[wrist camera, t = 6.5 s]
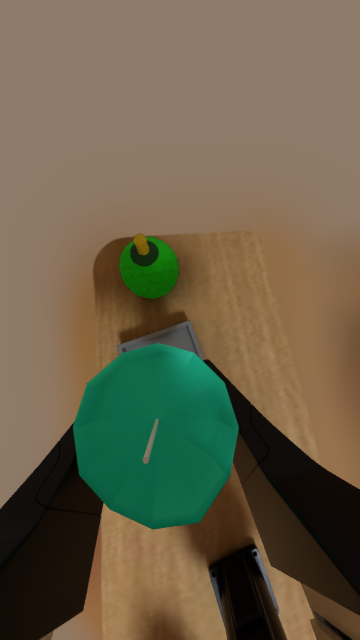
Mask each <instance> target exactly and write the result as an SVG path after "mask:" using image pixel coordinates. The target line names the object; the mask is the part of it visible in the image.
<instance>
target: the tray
mask: <svg viewBox="0 0 360 640" xmlns="http://www.w3.org/2000/svg"><path fill="white" fill-rule="evenodd" d="M156 343H160V344H164V345H168V346H172V347H176V348H179V349H183V350H187V351H190V352H193V353H195V354H196V355H197V356H198V357H199V358H200V359H201V360H202V361H203V360H205V359H204V357H203V354H202V351H201V348H200V346H199V343H198V340H197V338H196V335H195V332H194V330H193V327H192V324H191V322H190V320H189V321H186V322H183V323H180V324H177V325H174V326H172V327H169V328H166V329H163V330H160V331H157V332H154V333H151V334H149V335H146V336H143V337H140V338H137V339H134V340H131V341H128V342H126V343H123V344H120V345H117V350H118V353H119V355H120V354H122V353H124V352H128V351H131V350H135V349H138V348H142V347H145V346H149V345H152V344H156Z"/></svg>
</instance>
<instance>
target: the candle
mask: <svg viewBox="0 0 360 640" xmlns="http://www.w3.org/2000/svg"><path fill="white" fill-rule="evenodd" d="M238 430H239V426H238V423H237V420H236V417H235V414H234V411H233V408H232V404H231V401H230V398H229V395H228V392H227V389H226V386H225V383H224V382H223V381H222V380H221V379H220V378H219V377H218V376H217V375H216V374H215V373H214V372H213V371H212V370H211V369H210V368H209V367H208V366H207V365H206V364H205V363H204V362H203V361H202V360H201V359H200V358H199V357H198V356H197V355H196V354H195V353H193V352H190V351H187V350H183V349H179V348H176V347H172V346H168V345H164V344H160V343H156V344H152V345H149V346H145V347H142V348H138V349H135V350H131V351H128V352H124V353H122V354H120V355H119V356H118V357H117V358H116V359H115V360H114V361H112V362H111V363H110V364H109V365H108V366H107V367H106V368H104V369H103V370H102V371H101V372H100V373H99V374H97V375H96V376H95V377H94V378H93V379H92V380H91V381H89V382H88V383H87V386H86V389H85V392H84V395H83V398H82V401H81V404H80V407H79V410H78V413H77V416H76V419H75V422H74V425H73V432H74V439H75V447H76V454H77V462H78V470H79V475H80V476H81V477H82V479H83V480H84V481H85V482H86V483H87V484H88V485H89V486H90V488H91V489H92V490H93V491H94V492H95V493H96V494H97V495H98V497H99V498H100V499H101V500H102V501H103V502H104V503H105V504H106V506H107V507H108V508H109V509H110V510H112V511H114V512H117V513H119V514H121V515H123V516H125V517H127V518H129V519H132V520H134V521H136V522H138V523H140V524H142V525H144V526H147V527H149V528H151V529H159V528H166V527H173V526H181V525H188V524H195V523H200V522H201V520H202V518H203V517H204V515H205V514H206V512H207V511H208V509H209V508H210V506H211V505H212V503H213V502H214V500H215V498H216V497H217V495H218V494H219V492H220V491H221V489H222V488H223V486H224V485H225V483H226V482H227V480H228V479H229V477H230V474H231V468H232V463H233V457H234V452H235V446H236V441H237V435H238Z"/></svg>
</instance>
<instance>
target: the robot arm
mask: <svg viewBox="0 0 360 640" xmlns="http://www.w3.org/2000/svg"><path fill="white" fill-rule="evenodd" d="M203 362H204V363H205V364H206V365H207V366H208V367H209V368H210V369H211V370H212V371H213V372H214V373H215V374H216V375H217V376H218V377H219V378H220V379H221V380H222V381H223V382H224V383H225V386H226V389H227V392H228V395H229V398H230V401H231V404H232V408H233V411H234V414H235V417H236V420H237V423H238V426H239V430H238V435H237V441H236V446H235V452H234V457H233V463H234V466H235V469H236V471H237V474H238V477H239V480H240V482H241V485H242V488H243V491H244V493H245V496H246V499H247V502H248V504H249V507H250V510H251V513H252V515H253V518H254V521H255V524H256V526H257V529H258V532H259V534H260V537H261V540H262V543H263V545H264V548H265V551H266V554H267V556H268V559H269V562H270V564H271V566H272V567H274V568H276V569H278V570H279V571H281V572H283V573H285V574H286V575H288V576H290V577H292V578H294V579H295V580H297V581H299V582H300V583H301V585H302V588H303V590H304V593H305V595H306V598H307V600H308V603H309V605H310V608H311V610H312V613H313V615H314V618H315V619H311V620H310V622H311V625H312V628H313V631H314V633H315V636H316V639H317V640H360V489H358V488H356V487H355V486H353V485H351V484H349V483H348V482H346V481H345V480H343V479H341V478H339V477H338V476H336V475H334V474H333V473H331V472H329V471H328V470H326V469H325V468H323V467H322V466H320V465H319V464H318V463H316V462H315V461H314V460H312V459H311V458H310V457H309V456H308V455H306V454H305V453H304V452H303V451H302V450H301V449H300V448H298V447H297V446H296V445H295V444H294V443H293V442H292V441H291V440H289V439H288V438H287V437H286V436H285V435H284V434H283V433H281V432H280V431H279V430H278V429H277V428H276V427H275V426H274V425H272V424H271V423H270V422H269V421H268V420H267V419H266V418H265V417H264V416H263V415H262V414H261V413H260V412H259V411H258V410H257V409H256V408H255V407H254V406H253V405H251V403H250V402H249V401H248V400H247V399H246V398H245V397H244V396H243V395H242V393H241V392H240V391H239V390H238V389H237V388H236V387H235V386H234V385H233V384H232V383H231V382H230V381H229V380H228V379H227V378H226V377H225V376H224V375H223V374H222V373H221V372H220V371H219V370H218V369H217V368H216V366H215V365H214V364H213V363H212V362H211V361H210V360H208V359H207V360H203ZM74 422H75V421H74ZM73 425H74V423H73V424H72V425H71V426H70V428H69V429H68V430H67V431H66V433H65V434H64V435H63V437H62V438H61V439H60V441H58V443H57V444H56V445H55V446H54V448H53V449H52V450H51V451H50V453H49V454H48V455H47V456H46V457H45V459H44V460H43V461H42V462H41V464H40V465H39V466H38V467H37V468H36V469H35V470H34V471H33V473H32V474H31V475H30V476H29V477H28V478H27V479H26V481H25V482H24V483H23V484H22V485H21V486H20V487H19V488H18V490H17V491H16V492H15V493H14V494H13V495H12V497H10V499H9V500H8V501H7V502H6V503H5V504H4V505H3V506H2V508H1V509H0V640H51V638H52V635H53V631H54V630H55V629H56V628H58V627H60V626H61V625H63V624H64V623H66V622H67V621H69V620H70V619H71V618H73V617H75V616H76V615H78V614H79V613H81V612H82V611H83V609H84V604H85V599H86V594H87V589H88V583H89V578H90V573H91V567H92V562H93V557H94V551H95V546H96V541H97V535H98V530H99V525H100V519H101V513H102V508H103V503H104V502H103V501H102V500H101V499H100V498H99V497H98V495H97V494H96V493H95V492H94V491H93V490H92V489H91V488H90V486H89V485H88V484H87V483H86V482H85V481H84V480H83V479H82V477H81V476H80V475H79V470H78V462H77V454H76V447H75V439H74V432H73ZM254 551H255V552H254ZM209 575H210V579H211V582H212V586H213V589H214V592H215V596H216V599H217V602H218V606H219V609H220V612H221V616H222V619H223V622H224V626H225V629H226V635H227V640H287V637H286V635H285V632H284V629H283V627H282V624H281V621H280V619H279V616H278V614H279V608H278V605H277V602H276V599H275V597H274V594H273V591H272V588H271V585H270V583H269V580H268V577H267V574H266V571H265V569H264V566H263V563H262V560H261V557H260V554H259V552H258V549H257V547H256V546H255V545H250V546H248V547H246V548H244V549H242V550H240V551H238V552H236V553H234V554H232V555H230V556H228V557H226V558H224V559H222V560H220V561H218V562H216V563H214V564H212V565H210V567H209Z"/></svg>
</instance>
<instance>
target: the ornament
mask: <svg viewBox="0 0 360 640" xmlns="http://www.w3.org/2000/svg"><path fill="white" fill-rule="evenodd" d="M178 269H179V264H178V260H177V257H176V256H175V253H174V251H173V250H172V249H171V247H170V246H169V245H167V244H166V243H165V242H164V241H162V240H159V239H156V238H155V237H145V236H144V235H143V234H137V235H136V236H134V240H133V241H131V242H130V244H128V245H127V246H126V247H125V248H124V249H123V253H122V254H121V256H120V264H119V270H120V271H121V277H122V279H123V280H124V283H125V285H126V286H127V287H128V288H129V289H130V290H131V291H132V292H134V293H135V294H136V295H138V296H142V297H144V298H151V299H154V298H159V297H162V296H163V295H166V294H167V293H168V292H169V291H171V290H172V288H173V287H174V285H175V284H176V282H177V278H178V276H179V271H178Z"/></svg>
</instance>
